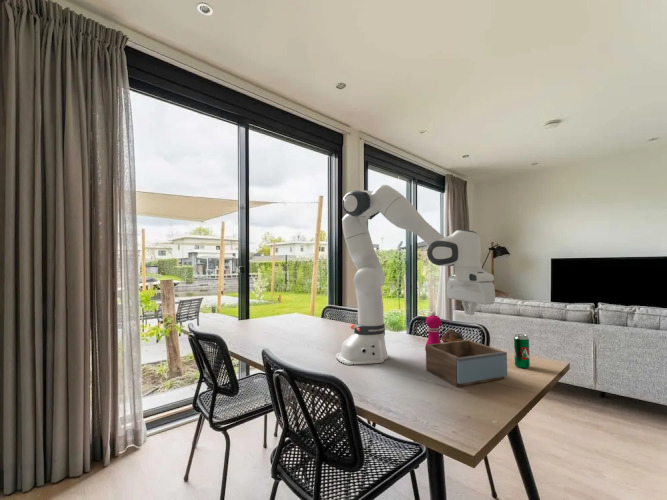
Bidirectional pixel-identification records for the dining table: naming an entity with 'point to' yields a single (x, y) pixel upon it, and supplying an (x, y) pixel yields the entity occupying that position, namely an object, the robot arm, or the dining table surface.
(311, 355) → the dining table surface
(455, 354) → the box
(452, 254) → the robot arm
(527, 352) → the soda can
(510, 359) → the dining table surface
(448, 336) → the decorative turtle
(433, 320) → the pepper mill
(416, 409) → the dining table surface
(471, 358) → the panel
